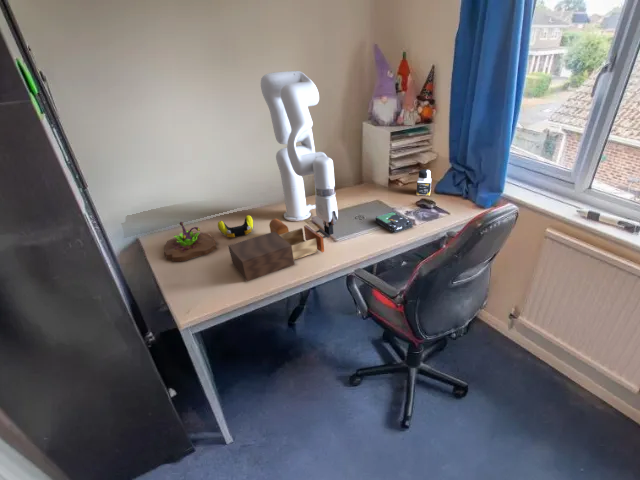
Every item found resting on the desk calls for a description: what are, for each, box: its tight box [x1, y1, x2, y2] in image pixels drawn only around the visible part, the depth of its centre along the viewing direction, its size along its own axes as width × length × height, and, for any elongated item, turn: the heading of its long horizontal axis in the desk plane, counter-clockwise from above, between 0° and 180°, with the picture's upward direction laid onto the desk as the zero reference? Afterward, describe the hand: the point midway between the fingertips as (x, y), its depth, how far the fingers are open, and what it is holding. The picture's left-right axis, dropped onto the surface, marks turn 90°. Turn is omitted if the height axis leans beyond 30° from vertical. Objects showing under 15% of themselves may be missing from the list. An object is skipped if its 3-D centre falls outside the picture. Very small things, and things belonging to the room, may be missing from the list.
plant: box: [163, 221, 218, 263], centre depth 154 cm, size 20×20×11 cm
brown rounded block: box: [268, 218, 290, 235], centre depth 161 cm, size 5×8×8 cm, turn 36°
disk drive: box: [374, 211, 414, 234], centre depth 171 cm, size 10×3×15 cm
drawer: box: [280, 224, 331, 261], centre depth 150 cm, size 22×14×6 cm, turn 126°
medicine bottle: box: [415, 168, 432, 196], centre depth 199 cm, size 7×7×12 cm
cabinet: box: [227, 232, 295, 282], centre depth 142 cm, size 19×15×8 cm
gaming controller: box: [217, 215, 254, 238], centre depth 166 cm, size 15×6×10 cm
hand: (329, 234), depth 156 cm, fingers closed
